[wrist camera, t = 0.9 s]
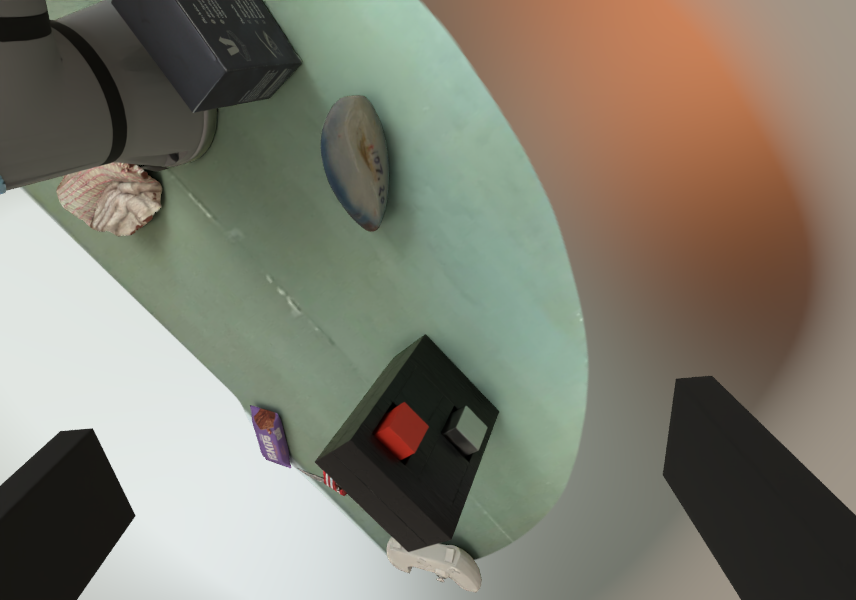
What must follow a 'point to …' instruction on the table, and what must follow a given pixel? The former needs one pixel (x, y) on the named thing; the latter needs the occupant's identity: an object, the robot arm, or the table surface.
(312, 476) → the machete
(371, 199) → the seashell
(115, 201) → the wadded dish towel
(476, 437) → the bottom left button
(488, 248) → the table surface
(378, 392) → the button panel
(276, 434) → the snack package
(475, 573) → the game controller
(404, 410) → the top right button
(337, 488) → the toy car
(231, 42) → the box
